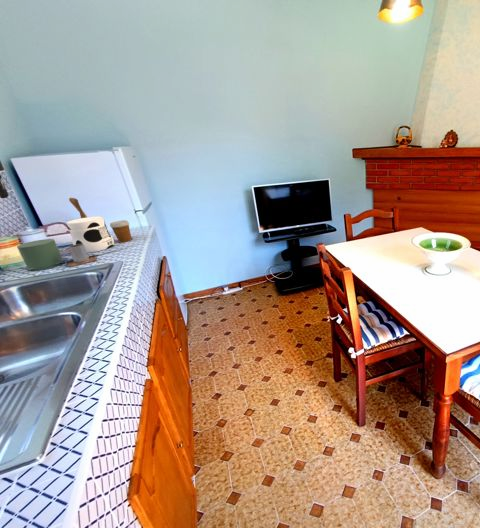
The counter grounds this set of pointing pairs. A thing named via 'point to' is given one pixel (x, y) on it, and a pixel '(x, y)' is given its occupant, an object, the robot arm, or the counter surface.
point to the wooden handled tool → (77, 207)
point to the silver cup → (78, 253)
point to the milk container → (90, 233)
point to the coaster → (72, 264)
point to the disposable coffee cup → (121, 230)
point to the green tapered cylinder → (40, 254)
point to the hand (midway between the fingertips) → (5, 197)
